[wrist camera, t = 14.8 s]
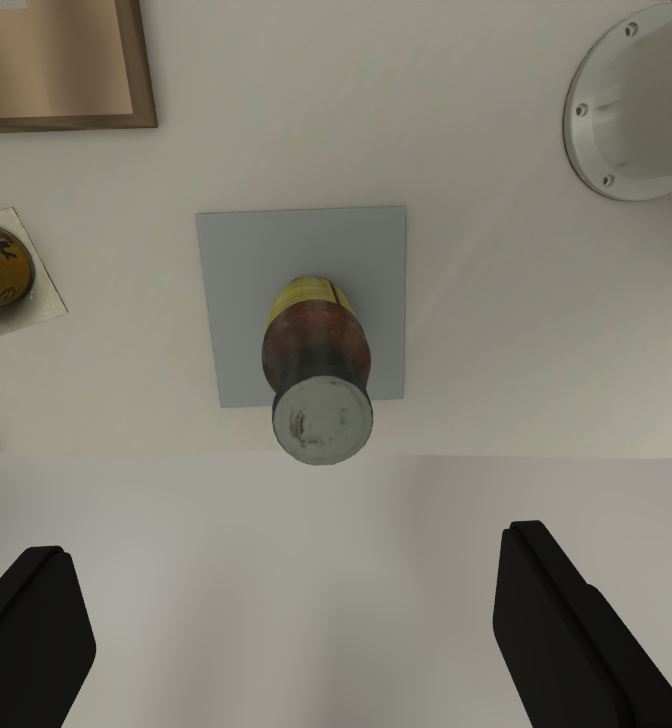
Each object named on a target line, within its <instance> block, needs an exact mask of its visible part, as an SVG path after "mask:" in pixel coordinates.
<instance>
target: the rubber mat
mask: <svg viewBox="0 0 672 728" xmlns="http://www.w3.org/2000/svg"><path fill="white" fill-rule="evenodd" d="M195 217H196V224H197V232H198V239H199V247H200V254H201V262H202V269H203V277H204V284H205V292H206V299H207V307H208V314H209V322H210V329H211V337H212V344H213V352H214V359H215V367H216V374H217V382H218V389H219V397H220V404H221V408H233V407H252V406H271V405H273V401H274V397H275V395H276V393H275V392H274V391H273V390H272V388H271V387H270V385H269V384H268V382H267V379H266V377H265V374H264V371H263V366H262V344H263V339H264V335H265V331H266V328H267V324H268V321H269V317H270V313H271V309H272V306H273V303H274V300H275V298H276V297H277V295H278V294H279V292H280V291H281V290H282V289H283V288H284V287H285V286H286V285H288V284H289V283H291V282H292V281H293V280H295V279H297V278H302V277H311V276H314V277H320V278H324V279H327V280H329V281H330V282H331V283H332V284H335V285H336V286H337V287H338V288H339V289H340V290H341V291H342V292H343V293H344V295H345V296H346V298H347V300H348V302H349V304H350V306H351V307H352V309H353V311H354V313H355V315H356V317H357V319H358V321H359V323H360V324H361V326H362V328H363V331H364V334H365V338H366V340H367V342H368V346H369V348H370V353H371V369H370V374H369V378H368V382H367V386H366V390H367V394H368V396H369V399H370V400H387V399H403V391H404V314H405V237H406V206H392V207H367V208H341V209H316V210H290V211H265V212H239V213H213V214H195Z"/></svg>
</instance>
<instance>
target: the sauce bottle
mask: <svg viewBox="0 0 672 728" xmlns="http://www.w3.org/2000/svg"><path fill="white" fill-rule="evenodd" d="M262 366H263V371H264V374H265V377H266V379H267V382H268V384H269V385H270V387H271V388H272V390H273V391H274V392H275V393H276V395H275V397H274V401H273V407H272V413H273V414H272V423H273V429H274V432H275V435H276V438H277V440H278V442H279V444H280V445H281V446H282V447H283V449H284V450H285V451H286V452H287V453H288V454H290V455H291V456H293V457H294V458H295V459H296V460H298V461H301V462H303V463H306V464H310V465H333V464H336V463H338V462H341V461H344V460H346V459H348V458H350V457H351V456H353V455H355V454H356V453H357V452H358V451H359V450H360V449H361V448H362V447H363V446H364V445H365V443H366V442H367V440H368V438H369V436H370V434H371V430H372V426H373V410H372V406H371V402H370V399H369V396H368V394H367V390H366V386H367V382H368V378H369V374H370V369H371V353H370V348H369V346H368V342H367V340H366V338H365V334H364V331H363V328H362V326H361V324H360V323H359V321H358V319H357V317H356V315H355V313H354V311H353V309H352V307H351V306H350V304H349V302H348V300H347V298H346V296H345V295H344V293H343V292H342V291H341V290H340V289H339V288H338V287H337V286H336V285H335V284H332V283H331V282H330V281H329V280H327V279H324V278H320V277H314V276H311V277H302V278H297V279H295V280H293V281H292V282H291V283H289V284H288V285H286V286H285V287H284V288H283V289H282V290H281V291H280V292H279V294H278V295H277V297H276V298H275V300H274V303H273V306H272V309H271V313H270V317H269V321H268V324H267V328H266V331H265V335H264V339H263V344H262Z"/></svg>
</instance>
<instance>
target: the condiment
mask: <svg viewBox="0 0 672 728" xmlns="http://www.w3.org/2000/svg"><path fill="white" fill-rule="evenodd" d="M32 290H33V291H34V292H33V294H31V291H32ZM30 295H33V299H32V300H30ZM65 313H68V312H67V310H66V308H65V306H64V305H63V303H62V301H61V299H60V297H59V295H58V293H57V292H56V290H55V288H54V286H53V284H52V282H51V280H50V278H49V277H48V275H47V272H46V270H45V268H44V266H43V264H42V262H41V260H40V258H39V256H38V254H37V252H36V250H35V248H34V247H33V245H32V243H31V241H30V239H29V237H28V235H27V233H26V231H25V229H24V228H23V226H22V224H21V222H20V220H19V218H18V216H17V214H16V213H15V211H14V210H13V208H12V207H10V208H7V209H4V210H1V211H0V335H2V334H5V333H8V332H11V331H14V330H17V329H20V328H23V327H26V326H29V325H32V324H34V323H38V322H41V321H44V320H47V319H50V318H53V317H56V316H59V315H62V314H65Z"/></svg>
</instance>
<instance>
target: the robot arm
mask: <svg viewBox="0 0 672 728" xmlns="http://www.w3.org/2000/svg"><path fill="white" fill-rule="evenodd" d="M576 109H577V111H578V114H576ZM564 137H565V143H566V148H567V153H568V155H569V158H570V160H571V163H572V165H573V167H574V169H575V170H576V172H577V173H578V175H579V176H580V178H581V179H582V180H583V181H584V182H585V183H586V184H587V185H588V186H589V187H590V188H591V189H593V190H595V191H596V192H598V193H600V194H602V195H603V196H606V197H609V198H612V199H616V200H622V201H642V200H650V199H655V198H659V197H663V196H665V195H668V194H670V193H672V2H671V3H664V4H657V5H654V6H652V7H649V8H646V9H644V10H641V11H639V12H637V13H635V14H633V15H632V16H630V17H628V18H627V19H625V20H623V21H622V22H621V23H619V24H618V25H616V26H615V27H614V28H612V29H611V30H610V31H608V32H607V33H606V34H605V35H604V36H603V37H602V38H601V39H600V40H599V41H598V42H597V43H596V44H595V45H594V46H593V48H592V49H591V51H590V52H589V53H588V55H587V56H586V58H585V59H584V60H583V62H582V63H581V65H580V67H579V69H578V71H577V73H576V75H575V77H574V79H573V82H572V85H571V88H570V91H569V94H568V97H567V102H566V108H565V114H564ZM603 180H604V183H603ZM493 630H494V635H495V638H496V641H497V643H498V646H499V648H500V651H501V653H502V655H503V658H504V660H505V662H506V665H507V667H508V669H509V672H510V674H511V677H512V679H513V681H514V684H515V686H516V689H517V691H518V693H519V696H520V698H521V700H522V703H523V705H524V707H525V710H526V712H527V715H528V717H529V720H530V722H531V724H532V727H533V728H672V687H671V685H670V684H669V683H668V681H667V680H666V679H665V677H664V676H663V675H662V673H661V672H660V671H659V669H658V668H657V667H656V665H655V664H654V663H653V662H652V660H651V659H650V658H649V656H648V655H647V654H646V652H645V651H644V649H643V648H642V647H641V646H640V644H639V643H638V641H637V640H636V639H635V637H634V636H633V635H632V634H631V632H630V631H629V629H628V628H627V627H626V625H625V624H624V623H623V622H622V620H621V619H620V618H619V616H618V615H617V614H616V612H615V611H614V610H613V608H612V607H611V605H610V604H609V603H608V602H607V601H606V599H605V598H604V596H603V595H602V594H601V593H600V592H599V590H598V589H597V588H595V587H594V586H592V585H590V584H587V583H586V582H585V580H584V579H583V577H582V576H581V575H580V574H579V572H578V571H577V569H576V568H575V567H574V565H573V564H572V562H571V561H570V560H569V558H568V557H567V556H566V554H565V553H564V552H563V550H562V549H561V547H560V546H559V545H558V543H557V542H556V541H555V539H554V538H553V536H552V535H551V534H550V532H549V531H548V530H547V528H546V527H545V526H544V524H543V523H542V522H541V521H539V520H534V521H516V522H512V523H511V525H510V528H509V529H504V531H503V534H502V541H501V550H500V559H499V568H498V577H497V586H496V595H495V604H494V613H493ZM95 654H96V642H95V639H94V636H93V632H92V628H91V625H90V621H89V617H88V614H87V610H86V607H85V604H84V600H83V597H82V593H81V589H80V586H79V582H78V579H77V575H76V571H75V568H74V565H73V561H72V557H71V555H70V554H69V553H65V552H64V550H63V548H61V547H60V546H43V547H42V546H41V547H30V548H28V549H26V550H25V551H24V552H23V553H22V554H21V555H20V556H19V557H18V558H17V560H16V561H15V562H14V563H13V564H12V565H11V566H10V567H9V569H8V570H7V571H6V572H5V573H4V574H3V576H2V577H1V578H0V728H61V726H62V724H63V722H64V720H65V718H66V716H67V714H68V712H69V710H70V708H71V706H72V704H73V702H74V700H75V698H76V696H77V695H78V693H79V691H80V689H81V686H82V685H83V683H84V680H85V679H86V677H87V675H88V673H89V670H90V668H91V667H92V664H93V662H94V659H95Z"/></svg>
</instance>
